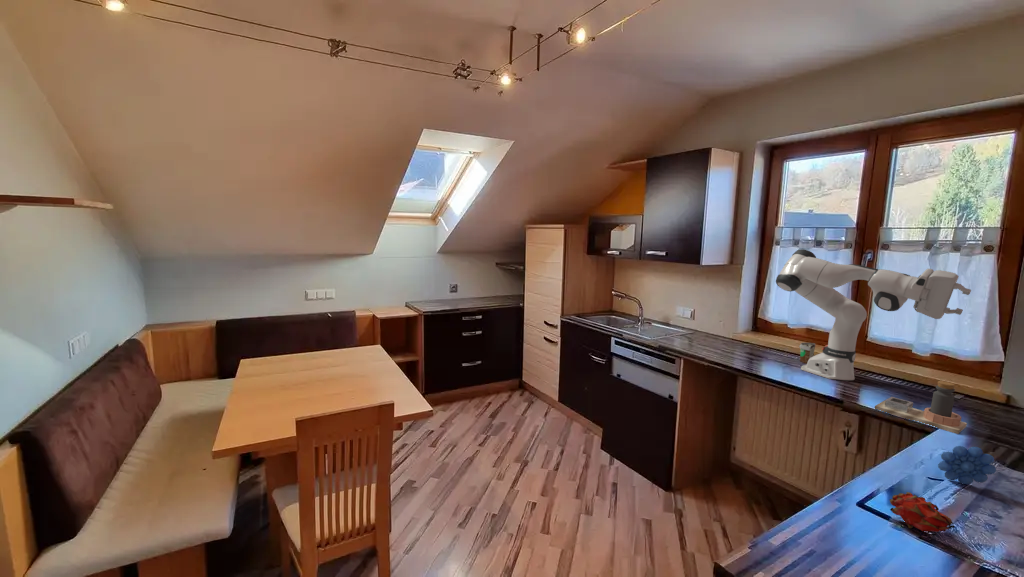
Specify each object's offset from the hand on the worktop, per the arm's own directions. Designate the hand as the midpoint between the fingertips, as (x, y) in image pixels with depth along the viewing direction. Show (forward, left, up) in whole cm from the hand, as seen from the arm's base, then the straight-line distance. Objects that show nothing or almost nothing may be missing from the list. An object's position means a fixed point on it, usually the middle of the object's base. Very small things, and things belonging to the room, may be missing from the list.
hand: (965, 302), depth 164 cm
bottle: (-1, -3, -46) cm, 46 cm away
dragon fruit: (+14, -90, -48) cm, 103 cm away
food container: (-65, +40, -48) cm, 90 cm away
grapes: (+15, -52, -48) cm, 72 cm away
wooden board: (-7, -2, -47) cm, 48 cm away
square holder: (-13, -2, -46) cm, 48 cm away
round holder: (0, -2, -46) cm, 46 cm away
